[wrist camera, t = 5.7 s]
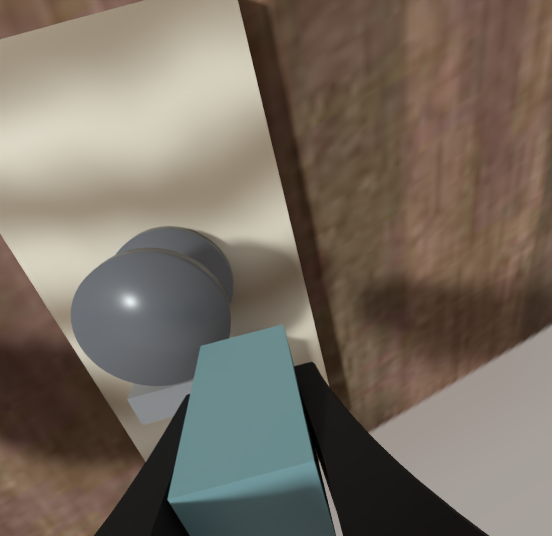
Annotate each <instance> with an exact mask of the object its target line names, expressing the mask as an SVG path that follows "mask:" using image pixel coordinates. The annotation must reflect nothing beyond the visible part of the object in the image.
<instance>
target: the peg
mask: <svg viewBox="0 0 552 536" xmlns="http://www.w3.org/2000/svg"><path fill="white" fill-rule="evenodd" d="M294 366H295V365H294V361H293V358H292V354H291V350H290V347H289V343H288V339H287V336H286V332H285V328H284V325H283V324H282V325H278V326H274V327H271V328H267V329H263V330H259V331H256V332H252V333H248V334H244V335H240V336H237V337H233V338H229V339H225V340H221V341H218V342H214V343H210V344H206V345H202V346H201V347H200V352H199V356H198V361H197V365H196V370H195V375H194V379H193V384H192V389H191V393H190V398H189V403H188V407H187V412H186V416H185V421H184V426H183V430H182V435H181V440H180V444H179V449H178V453H177V458H176V463H175V467H174V472H173V477H172V481H171V486H170V490H169V495H168V501H169V503H170V505H171V506H172V508H173V509H174V511H175V513H176V514H177V516H178V517H179V519H180V521H181V522H182V524H183V526H184V527H185V529H186V530H187V532H188V534H189V535H190V536H336V534H335V530H334V525H333V521H332V517H331V513H330V508H329V504H328V500H327V496H326V492H325V487H324V483H323V479H322V475H321V471H320V466H319V462H318V458H317V454H316V450H315V445H314V442H313V438H312V435H311V431H310V427H309V424H308V420H307V417H306V413H305V410H304V406H303V402H302V399H301V395H300V392H299V388H298V384H297V379H296V375H295V370H294Z"/></svg>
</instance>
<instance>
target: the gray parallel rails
mask: <svg viewBox="0 0 552 536" xmlns="http://www.w3.org/2000/svg"><path fill="white" fill-rule="evenodd" d="M193 379H194V378H193ZM193 379H191V380H189V381H186V382H183V383H179V384H174V385H167V386H147V385H140V384H135V383H134V385H133V387H132V390H131V392H130V394H129V396H128V398H127V400H128V402H129V403H130V405H131V407H132V408H133V410H134V412H135V413H136V415H137V417H138V419H139V420H140V422H141V424H142V425H144V424H148V423H151V422H155V421H159V420H162V419H166V418H170V417H173V416H174V415H175V413H176V411H177V409H178V408H179V406H180V404H181V403H182V401H183V400H184V398H185V396H186V395H188V394H190V393H191V389H192V384H193Z"/></svg>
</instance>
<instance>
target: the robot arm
mask: <svg viewBox="0 0 552 536" xmlns="http://www.w3.org/2000/svg"><path fill="white" fill-rule="evenodd" d="M294 370H295V375H296V379H297V384H298V388H299V392H300V395H301V399H302V402H303V406H304V410H305V413H306V417H307V420H308V424H309V427H310V431H311V435H312V438H313V442H314V445H315V448H316V451H317V454H318V457H319V460H320V463H321V466H322V469H323V472H324V475H325V478H326V481H327V484H328V487H329V490H330V493H331V496H332V499H333V502H334V505H335V508H336V511H337V514H338V518H339V521H340V525H341V529H342V533H343V536H489V535H487V534H486V533H485V532H483V531H482V530H481V529H479V528H478V527H477V526H475V525H474V524H473V523H471V522H470V521H469V520H467V519H466V518H465V517H463V516H462V515H461V514H459V513H458V512H457V511H456V510H455V509H453V508H452V507H451V506H449V505H448V504H447V503H446V502H445V501H443V500H442V499H441V498H439V496H437V495H436V494H435V493H434V492H432V491H431V490H430V489H429V488H428V487H426V486H425V485H424V484H423V483H421V482H420V481H419V480H418V479H417V478H415V477H414V476H413V475H412V474H411V473H410V472H409V471H408V470H406V469H405V468H404V467H403V466H402V465H401V464H400V463H399V462H398V461H396V460H395V459H394V458H393V457H392V456H391V455H390V454H389V453H388V452H387V451H386V450H385V449H384V448H383V447H382V446H381V445H380V444H379V443H378V442H377V441H376V440H374V438H373V437H372V436H371V435H370V434H369V433H368V432H367V431H366V430H365V429H364V428H363V427H362V426H361V425H360V423H359V422H358V421H357V420H356V419H355V418H354V417H353V416H352V414H351V413H350V412H349V411H348V410H347V409H346V407H345V406H344V405H343V404H342V403H341V401H340V400H339V399H338V398H337V396H336V395H335V394H334V392H333V391H332V390H331V388H330V387H329V386H328V384H327V383H326V381H325V380H324V378H323V377H322V375H321V374H320V372H319V370H318V368H317V366H316V364H315V363H313V362H308V363H304V364H300V365H297V366H294ZM189 398H190V394H188V395H186V396H185V398H184V400H183V401H182V403H181V404H180V406H179V408H178V409H177V411H176V413H175V415H174V416H173V418H172V420H171V421H170V423H169V425H168V426H167V428H166V430H165V432H164V433H163V435H162V437H161V438H160V440H159V441H158V443H157V445H156V446H155V448H154V450H153V451H152V453H151V454H150V456H149V458H148V459H147V461H146V462H145V464H144V466H143V467H142V469H141V470H140V472H139V473H138V475H137V476H136V478H135V479H134V481H133V482H132V484H131V485H130V487H129V488H128V490H127V491H126V493H125V494H124V496H123V497H122V499H121V500H120V501H119V503H118V504H117V506H116V507H115V508H114V510H113V511H112V513H111V514H110V515H109V517H108V518H107V519H106V521H105V522H104V523H103V525H102V526H101V527H100V528H99V530H98V531H97V532H96V534H95V535H94V536H190V535H189V534H188V532H187V530H186V529H185V527H184V526H183V524H182V522H181V521H180V519H179V517H178V516H177V514H176V513H175V511H174V509H173V508H172V506H171V505H170V503H169V501H168V495H169V490H170V486H171V481H172V477H173V472H174V467H175V463H176V458H177V453H178V449H179V444H180V440H181V435H182V430H183V426H184V421H185V416H186V412H187V407H188V403H189Z"/></svg>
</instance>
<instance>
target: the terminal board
mask: <svg viewBox="0 0 552 536" xmlns="http://www.w3.org/2000/svg"><path fill="white" fill-rule="evenodd" d="M163 226H176V227H182V228H187V229H190V230H193V231H195V232H198V233H200V234H202V235H204V236H205V237H207V238H208V239H210V240H211V241H212V242H214V243H215V244H216V245H217V246H218V247H219V248H220V250H221V251H222V252H223V253H224V255H225V257H226V258H227V260H228V262H229V264H230V267H231V270H232V274H233V295H232V301H231V304H230V307H231V330H230V336H229V338H233V337H237V336H240V335H244V334H248V333H252V332H256V331H259V330H263V329H267V328H271V327H274V326H278V325H282V324H283V325H284V328H285V332H286V336H287V339H288V343H289V347H290V350H291V354H292V358H293V361H294V365H295V366H297V365H300V364H304V363H308V362H313V363H315V364H316V366H317V368H318V370H319V372H320V374H321V375H322V377H323V378H324V380H325V381H326V383H327V384H328V386H329V383H328V379H327V375H326V370H325V366H324V362H323V358H322V354H321V349H320V345H319V341H318V337H317V332H316V328H315V324H314V320H313V316H312V311H311V307H310V303H309V299H308V295H307V290H306V286H305V282H304V278H303V273H302V269H301V265H300V261H299V257H298V252H297V248H296V244H295V240H294V235H293V231H292V227H291V223H290V219H289V214H288V210H287V206H286V202H285V198H284V193H283V189H282V185H281V181H280V176H279V172H278V168H277V164H276V160H275V155H274V151H273V147H272V143H271V138H270V134H269V130H268V126H267V122H266V117H265V113H264V109H263V105H262V101H261V96H260V92H259V88H258V84H257V79H256V75H255V71H254V67H253V63H252V58H251V54H250V50H249V46H248V41H247V37H246V33H245V29H244V25H243V20H242V16H241V12H240V8H239V4H238V0H144V1H140V2H137V3H133V4H129V5H126V6H122V7H118V8H114V9H111V10H107V11H103V12H100V13H96V14H92V15H89V16H85V17H81V18H78V19H74V20H70V21H66V22H63V23H59V24H55V25H52V26H48V27H44V28H41V29H37V30H33V31H30V32H26V33H22V34H19V35H15V36H11V37H7V38H4V39H0V234H1V235H2V237H3V238H4V240H5V242H6V243H7V245H8V246H9V248H10V249H11V251H12V253H13V254H14V256H15V257H16V259H17V260H18V262H19V264H20V265H21V267H22V268H23V270H24V271H25V273H26V275H27V276H28V278H29V279H30V281H31V282H32V284H33V286H34V287H35V289H36V290H37V292H38V293H39V295H40V297H41V298H42V300H43V301H44V303H45V304H46V306H47V308H48V309H49V311H50V312H51V314H52V315H53V317H54V319H55V320H56V322H57V323H58V325H59V326H60V328H61V330H62V331H63V333H64V334H65V336H66V337H67V339H68V341H69V342H70V344H71V345H72V347H73V348H74V350H75V352H76V353H77V355H78V356H79V358H80V359H81V361H82V363H83V364H84V366H85V367H86V369H87V370H88V372H89V374H90V375H91V377H92V378H93V380H94V381H95V383H96V385H97V386H98V388H99V389H100V391H101V392H102V394H103V396H104V397H105V399H106V400H107V402H108V404H109V405H110V407H111V408H112V410H113V411H114V413H115V415H116V416H117V418H118V419H119V421H120V422H121V424H122V426H123V427H124V429H125V430H126V432H127V433H128V435H129V437H130V438H131V440H132V441H133V443H134V444H135V446H136V448H137V449H138V451H139V452H140V454H141V455H142V457H143V459H144V460H145V462H146V461H147V459H148V458H149V456H150V454H151V453H152V451H153V450H154V448H155V446H156V445H157V443H158V441H159V440H160V438H161V437H162V435H163V433H164V432H165V430H166V428H167V426H168V425H169V423H170V421H171V420H172V418H173V417H170V418H166V419H162V420H159V421H155V422H151V423H148V424H144V425H142V424H141V422H140V420H139V419H138V417H137V415H136V413H135V412H134V410H133V408H132V407H131V405H130V403H129V402H128V400H127V398H128V396H129V394H130V392H131V390H132V387H133V385H134V383H131V382H128V381H124V380H122V379H119V378H117V377H115V376H113V375H111V374H109V373H107V372H106V371H104V370H103V369H101V368H100V367H98V366H97V365H96V364H95V363H94V362H93V361H91V359H90V358H89V357H88V356H87V355H86V354H85V353H84V351H83V350H82V349H81V347H80V346H79V344H78V342H77V340H76V338H75V335H74V332H73V329H72V324H71V305H72V301H73V298H74V295H75V292H76V291H77V289H78V287H79V285H80V284H81V282H82V281H83V280H84V279H85V277H87V276H88V275H89V274H90V273H91V272H92V271H93V270H94V269H95V268H97V267H98V266H99V265H100V264H101V263H103V262H104V261H106V260H107V259H109V258H110V257H112V256H114V255H116V253H117V252H118V251H119V249H120V248H121V247H122V246H123V245H125V244H126V243H127V242H128V241H129V240H130V239H132V238H133V237H135V236H136V235H137V234H139V233H141V232H143V231H146V230H149V229H152V228H156V227H163Z"/></svg>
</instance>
